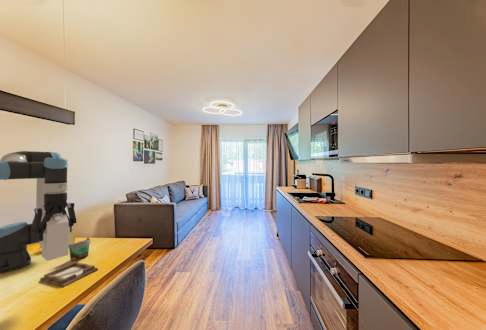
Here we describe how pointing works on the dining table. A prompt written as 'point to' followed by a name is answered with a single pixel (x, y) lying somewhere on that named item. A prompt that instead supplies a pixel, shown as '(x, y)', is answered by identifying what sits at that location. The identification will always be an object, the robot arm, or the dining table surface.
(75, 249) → the food container
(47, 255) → the milk carton
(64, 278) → the brown picture frame
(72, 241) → the cheese
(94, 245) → the dining table surface
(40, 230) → the robot arm
